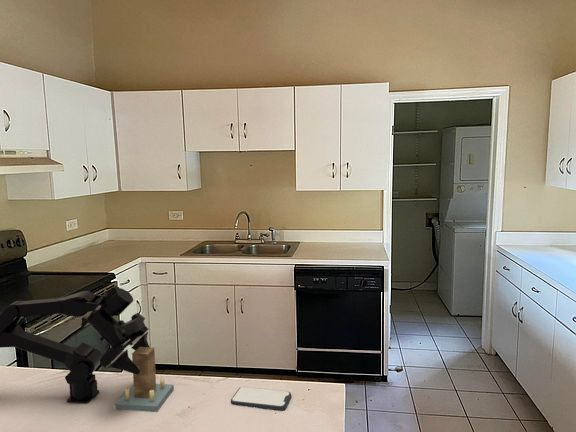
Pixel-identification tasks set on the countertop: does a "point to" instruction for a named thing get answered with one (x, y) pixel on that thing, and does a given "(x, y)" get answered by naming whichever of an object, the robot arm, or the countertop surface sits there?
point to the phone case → (261, 398)
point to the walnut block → (144, 372)
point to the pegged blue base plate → (145, 403)
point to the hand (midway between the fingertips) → (146, 365)
